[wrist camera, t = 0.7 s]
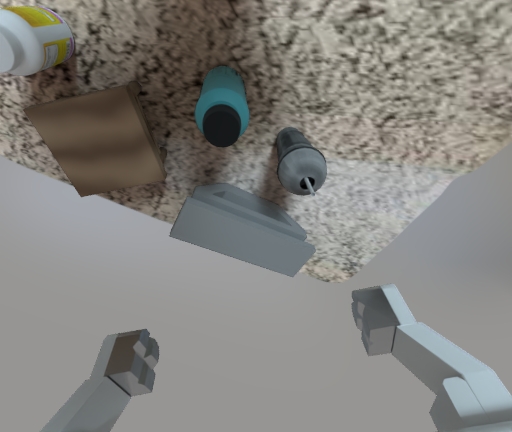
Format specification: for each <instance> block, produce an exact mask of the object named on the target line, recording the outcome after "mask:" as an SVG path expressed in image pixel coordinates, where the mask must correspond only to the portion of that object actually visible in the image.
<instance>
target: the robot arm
mask: <svg viewBox="0 0 512 432" xmlns="http://www.w3.org/2000/svg"><path fill="white" fill-rule="evenodd" d="M352 299H353V301H354V302H353V303H352V312H353V317H354V320H355V323H356V326H357V328H358V329H360V330H361V331H362V341H363V344H364V347H365V349H366V352H367V354H368V356H373V355H380V354H387V353H392V355H393V356H394V357H396V358H397V359H398V360H399V361H400V362H401V363H402V364H403V365H404V366H405V367H406V368H407V369H409V370H410V371H411V372H412V373H413V374H414V375H415V376H416V377H417V378H418V379H419V380H421V381H422V382H423V383H424V384H425V385H426V386H427V387H428V388H429V389H430V390H432V391H433V392H434V393H435V394H436V395H437V396H436V399H435V401H434V403H433V405H432V407H431V410H430V412H429V413H430V415H431V417H432V419H433V422H434V424H435V426H436V428H437V430H438V432H512V396H511V395H510V394H509V392H508V391H507V389H506V388H505V386H504V385H503V384H502V382H501V381H500V379H499V378H498V376H497V375H496V374H495V372H494V371H493V370H492V369H491V368H489V367H488V366H486V365H485V364H483V363H482V362H480V361H479V360H477V359H476V358H474V357H473V356H471V355H470V354H468V353H467V352H465V351H464V350H462V349H461V348H459V347H458V346H456V345H455V344H453V343H452V342H450V341H449V340H447V339H446V338H444V337H443V336H441V335H440V334H438V333H437V332H435V331H434V330H432V329H431V328H429V327H428V326H426V325H425V324H423V323H422V322H416V320H415V319H414V317H413V315H412V313H411V312H410V310H409V308H408V306H407V305H406V303H405V301H404V299H403V298H402V296H401V294H400V293H399V291H398V289H397V287H396V286H395V285H394V284H387V285H381V286H374V287H370V288H365V289H359V290H354V291H352ZM149 335H150V333H149V332H148V331H147V329H142V330H136V331H131V332H125V333H118V334H113V335H108V336H107V337H106V338H105V339H104V341H103V344H102V346H101V349H100V352H99V354H98V357H97V360H96V363H95V365H94V368H93V371H92V374H91V376H90V379H88V380H85V382H84V383H83V384H82V385H81V386H80V387H79V388H78V389H77V390H76V391H75V393H74V394H73V395H72V396H71V397H70V398H69V400H68V401H67V402H66V403H65V404H64V405H63V406H62V407H61V408H60V409H59V411H58V412H57V413H56V414H55V415H54V416H53V417H52V419H51V420H50V421H49V422H48V423H47V424H46V425H45V426H44V427H43V429H42V430H41V431H40V432H110V430H111V429H112V427H113V426H114V424H115V423H116V421H117V419H118V418H119V416H120V415H121V413H122V412H123V410H124V408H125V407H126V405H127V404H128V402H129V401H130V399H131V396H136V395H141V394H146V393H151V392H152V389H153V384H154V379H155V372H154V370H153V368H154V367H155V366H156V364H157V363H158V359H159V346H158V344H157V342H156V340H155V339H153V338H151V337H149Z"/></svg>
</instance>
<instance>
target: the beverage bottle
mask: <svg viewBox="0 0 512 432" xmlns="http://www.w3.org/2000/svg"><path fill="white" fill-rule="evenodd" d="M242 79H243V78H241V76H240V75H239V74H238V72H236V71H235V69H233V68H230V67H227V66H225V65H224V66H221V65H220V67H216V68H213V69H212V70H211V71H210V72H209V73H208V74H207V75H206V77H205V80H204V83H203V86H202V88H201V94H199V95H200V97H199V100H198V102H197V104H196V108H195V120H196V123H197V126H198V128H199V129H200V131H201V132H202V133H203V134H204V136H205V138H206V139H207V140H208V141H209V142H210V143H211V144H212V145H214V146H217V147H228V146H230V145H232V144H233V143H235V142H236V141H237V139H238V138H239V137H240V136H241V135H242V134H243V133H244V132H245V130H246V128H247V126H248V123H249V109H248V107H249V106H247V100H246V91H245V89H246V88H245V89H244V81H242ZM247 99H248V98H247Z"/></svg>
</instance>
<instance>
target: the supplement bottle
mask: <svg viewBox="0 0 512 432" xmlns="http://www.w3.org/2000/svg"><path fill="white" fill-rule="evenodd" d="M73 50H74V39H73V35H72V33H71V30H70V28H69V27H68V25H67V24H66V22H65V21H64V20H63V19H62V18H61V17H60V16H59V15H58V14H56V13H55V12H53V11H52V10H50V9H47V8H45V7H40V6H25V7H5V8H0V73H5V72H7V73H9V74H12V75H17V76H27V75H31V74H34V73H37V72H39V71H42V70H44V69H47V68H50V67H52V66H55V65H57V64H60V63H62V62H64V61H66V60H68V59H69V58H70V57H71V55H72V53H73Z"/></svg>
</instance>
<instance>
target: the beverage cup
mask: <svg viewBox="0 0 512 432" xmlns="http://www.w3.org/2000/svg"><path fill="white" fill-rule="evenodd" d="M277 152H278V162H279V163H278V168H277V175H278V179H279V180H280V182H281V184H282V185H283V186H284V188H286V189H287V190H288V191H289V192H291V193H293V194H296V195H303V196H304V195H310V194H311V196H315V192H316V191H317V190H318V189H319V188H320V187H321V186H322V185H323V183H324V182H325V178H326V175H327V166H326V160H325V158H324V156H323V154H322V153H321V152H320V151H319V150H317V149H316V148H314V147H313V146H312V145H311V144H310V143H309V142H308V140H307V139H306V138H305V137H304V136H303V134H302V133H301V132H300V131H299V130H298V129H296V128H293V127H288V128H285V129H283V130H281V131H280V132H279V134H278V136H277Z"/></svg>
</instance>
